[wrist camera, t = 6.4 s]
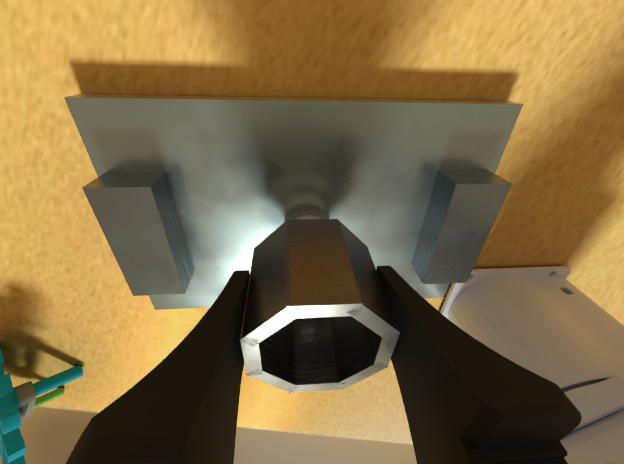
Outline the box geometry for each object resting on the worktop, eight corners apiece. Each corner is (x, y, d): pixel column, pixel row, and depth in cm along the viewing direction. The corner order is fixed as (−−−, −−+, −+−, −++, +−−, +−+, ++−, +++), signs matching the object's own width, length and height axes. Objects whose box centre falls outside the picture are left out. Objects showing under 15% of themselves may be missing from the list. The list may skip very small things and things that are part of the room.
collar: (372, 218, 13) (412, 301, 9) (356, 299, 16) (380, 387, 12) (250, 219, 12) (232, 307, 8) (259, 302, 16) (250, 395, 12)
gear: (-39, 323, 19) (-3, 473, 16) (72, 296, 23) (114, 408, 21) (-34, 377, 24) (-7, 495, 22) (55, 346, 29) (86, 440, 26)
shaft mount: (507, 100, 15) (607, 122, 10) (436, 286, 23) (476, 347, 18) (81, 94, 13) (-32, 116, 9) (161, 297, 21) (125, 367, 16)
